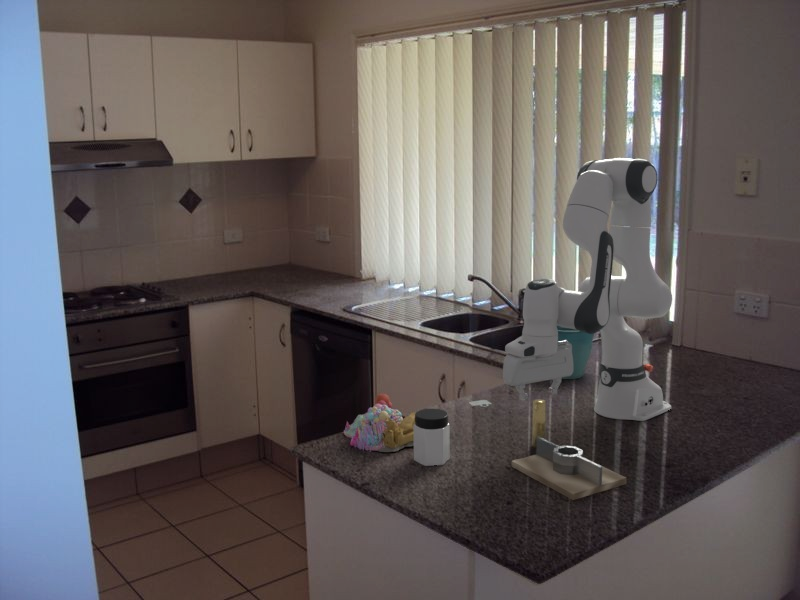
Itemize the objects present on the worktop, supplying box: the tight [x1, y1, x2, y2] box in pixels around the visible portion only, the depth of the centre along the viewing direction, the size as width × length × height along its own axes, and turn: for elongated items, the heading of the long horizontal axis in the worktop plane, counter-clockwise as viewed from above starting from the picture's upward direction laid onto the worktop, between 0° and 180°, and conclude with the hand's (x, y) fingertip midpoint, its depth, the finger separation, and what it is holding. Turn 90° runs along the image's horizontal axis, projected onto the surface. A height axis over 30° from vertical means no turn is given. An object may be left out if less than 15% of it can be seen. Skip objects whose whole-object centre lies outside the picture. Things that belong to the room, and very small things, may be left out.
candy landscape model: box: [343, 393, 416, 453], centre depth 229 cm, size 25×24×9 cm
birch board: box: [511, 453, 628, 501], centre depth 202 cm, size 16×22×2 cm
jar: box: [413, 408, 451, 467], centre depth 211 cm, size 9×8×12 cm
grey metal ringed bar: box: [536, 436, 602, 486], centre depth 201 cm, size 7×22×4 cm, turn 30°
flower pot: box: [557, 326, 595, 380], centre depth 279 cm, size 18×18×17 cm
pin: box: [531, 398, 547, 449], centre depth 219 cm, size 3×3×12 cm
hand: (538, 397), depth 217 cm, fingers open, 8 cm apart
